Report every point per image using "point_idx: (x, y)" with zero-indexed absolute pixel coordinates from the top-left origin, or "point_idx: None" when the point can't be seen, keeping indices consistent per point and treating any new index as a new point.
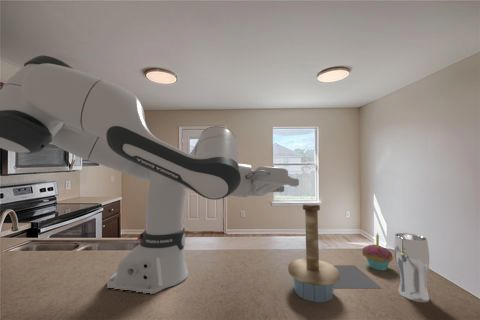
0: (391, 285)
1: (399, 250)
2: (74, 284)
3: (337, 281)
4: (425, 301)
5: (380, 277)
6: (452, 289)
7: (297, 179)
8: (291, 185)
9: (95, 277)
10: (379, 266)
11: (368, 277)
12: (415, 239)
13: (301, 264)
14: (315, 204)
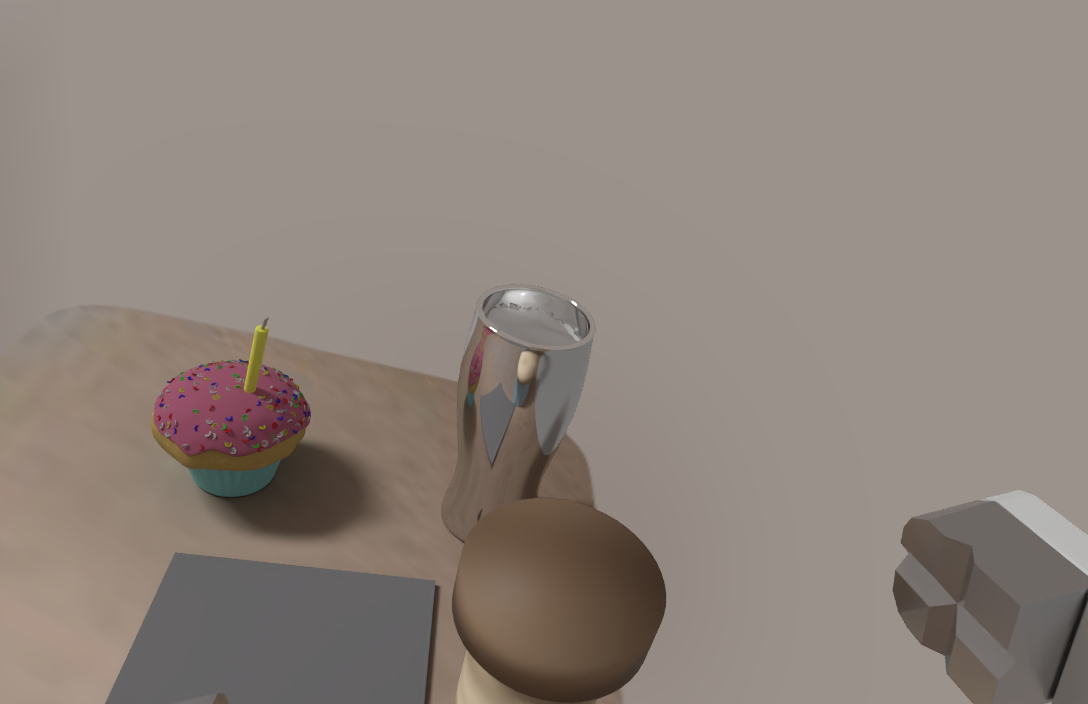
0: (404, 528)
1: (537, 402)
2: None
3: None
4: None
5: (328, 522)
6: (451, 389)
7: (1029, 503)
8: (1048, 700)
9: None
10: (273, 469)
11: (328, 571)
12: (502, 305)
13: None
14: (533, 520)
